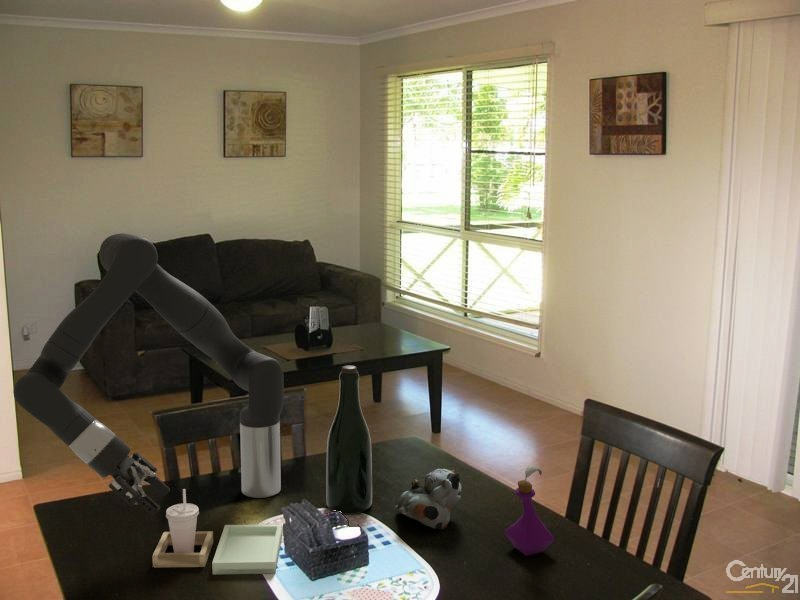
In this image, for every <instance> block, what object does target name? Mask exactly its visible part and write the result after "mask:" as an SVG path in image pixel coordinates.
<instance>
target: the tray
mask: <svg viewBox="0 0 800 600" xmlns="http://www.w3.org/2000/svg"><path fill="white" fill-rule="evenodd" d="M282 533H283V524H224V527H223V531H222V533H221V536H220V538H219V542H218V545H217V547H216V551H215V554H214V557H213V560H212V563H211V564H212V568H211V569H212V570H211V572H212V575H259V574H260V575H262V574H264V573H273V574H277V573H276V572H277V567H278V561H279V556H280V550H281V545H282V540H283V535H282Z"/></svg>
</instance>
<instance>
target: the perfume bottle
mask: <svg viewBox="0 0 800 600" xmlns="http://www.w3.org/2000/svg"><path fill="white" fill-rule="evenodd" d="M536 472H538V473H539V476H542V474H543V471H542V469H541V468H539V467H538V466H535V465H533V464H530V465H528V466H527V467H526V468H525V471H524V474H525V475H524V476H525V477H524V480H523V479H522V480H518V481H517V488H516V489H515V491H514V493H515V495H516V496H517V497H519V498H520V500H521V501H522V505H523V506H522V507H523V512H522V514H521V517H520V518H518V519H517V521H515V522H514V523H512V524H511V525H510V526H509V527H507V528H506V529H505V530H504V532H503V533H504V534H505V536H506V538H508V540H509V541H510V543H511V544H512V546H513V547H514V548H515V549H516V550H518V551H519V552H520V553H522V554H523V555H524V556H525V557H528V556H531V555H537V554H540V553H543V552H544V551H545V550H546V549H547V548H548V547H549V545H551V544H552V543H553V542H554V541H555V540H556V539H555V536H554V535H553V534H552V533H551V532H550V530H549V529H548V528H547V526H546V525H545V524H544V523H543V521H542V520H541V519H540V518H539V515H538V514H537V512H536V510H535V507H534V504H533V500H532V499H533V497H535V496H536V491H535V489H533V485H532V483H531V481H528V480H527V478H530V477H531V476H532V475H533V474H534V473H536Z"/></svg>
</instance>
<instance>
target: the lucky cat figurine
mask: <svg viewBox="0 0 800 600" xmlns="http://www.w3.org/2000/svg"><path fill="white" fill-rule="evenodd" d="M460 481H461V479H460V472H456V470H455V469H452V470H449V469H446V468H437V469H434V470H433V471H430V472H429V473H427V474H426V475H425V477H424V481H423V484H422V485H420V483H419V480H417V479H415V478H414V479H413V480H412V481H411V483H410V484H411V487H410V488H409V490H406V491H404V492H403V493H402V494H400V496H399V499H398V503H397V504H396V505H395V509H397V510H398V511H397V512H398V513H400V514H402V515H403V516H406V517H408V518H410V519H413V520H414V521H415V520H416V521H418V522H419V523H421V524H423V525H424V526H426V527H428V528H429V527H430V528H432V529H438V530H439V531H443V530H445V529H446V528H447V526H448V524H449V522H450V519H451V512H452V509H453V508H454V507H455V505H456V504H457V503H458V502H459V501H460V499H461V497H462V495H461V493H462V484H461V483H460Z"/></svg>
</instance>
